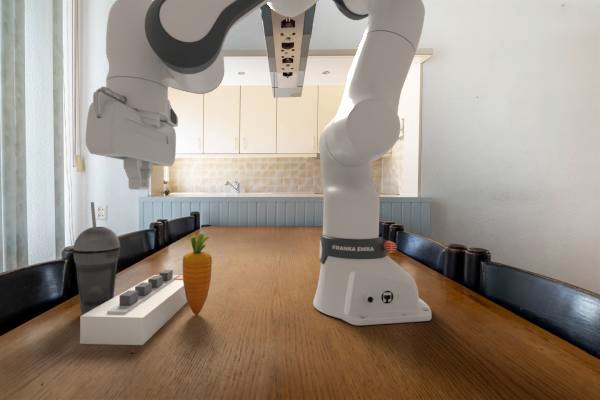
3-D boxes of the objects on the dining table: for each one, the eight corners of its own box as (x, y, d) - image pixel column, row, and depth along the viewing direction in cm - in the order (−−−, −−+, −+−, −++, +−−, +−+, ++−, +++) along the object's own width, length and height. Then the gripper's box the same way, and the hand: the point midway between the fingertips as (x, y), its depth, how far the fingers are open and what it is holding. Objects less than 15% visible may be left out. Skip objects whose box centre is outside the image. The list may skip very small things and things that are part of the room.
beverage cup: (96, 323, 50) (97, 203, 49) (60, 318, 51) (61, 202, 51) (129, 307, 57) (130, 202, 57) (97, 303, 58) (98, 201, 58)
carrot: (182, 311, 56) (184, 230, 55) (210, 308, 57) (212, 230, 57) (180, 322, 51) (182, 234, 51) (211, 319, 52) (212, 233, 52)
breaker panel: (195, 294, 65) (195, 266, 65) (142, 345, 43) (143, 303, 43) (154, 293, 65) (154, 265, 65) (80, 343, 43) (80, 302, 43)
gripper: (119, 81, 39) (120, 188, 39) (181, 120, 59) (182, 190, 59) (70, 81, 39) (71, 188, 39) (149, 119, 59) (150, 190, 59)
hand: (139, 189), depth 49 cm, fingers closed
